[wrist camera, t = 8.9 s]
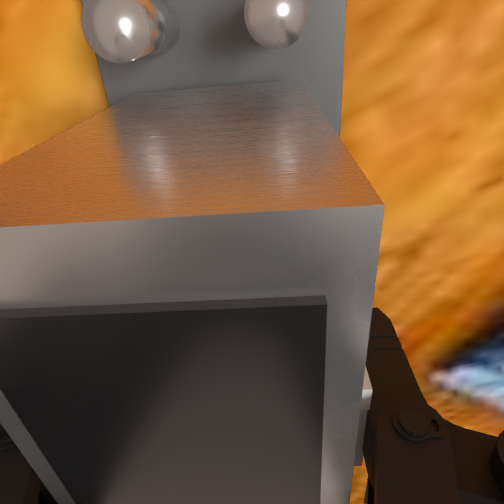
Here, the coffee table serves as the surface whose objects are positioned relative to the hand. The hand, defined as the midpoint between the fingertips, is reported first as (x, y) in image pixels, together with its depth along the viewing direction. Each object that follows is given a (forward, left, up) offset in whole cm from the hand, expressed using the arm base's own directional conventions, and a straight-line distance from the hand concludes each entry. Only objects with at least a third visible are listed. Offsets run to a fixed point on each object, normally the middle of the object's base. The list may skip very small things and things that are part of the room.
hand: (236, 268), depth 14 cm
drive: (0, 0, -1) cm, 1 cm away
